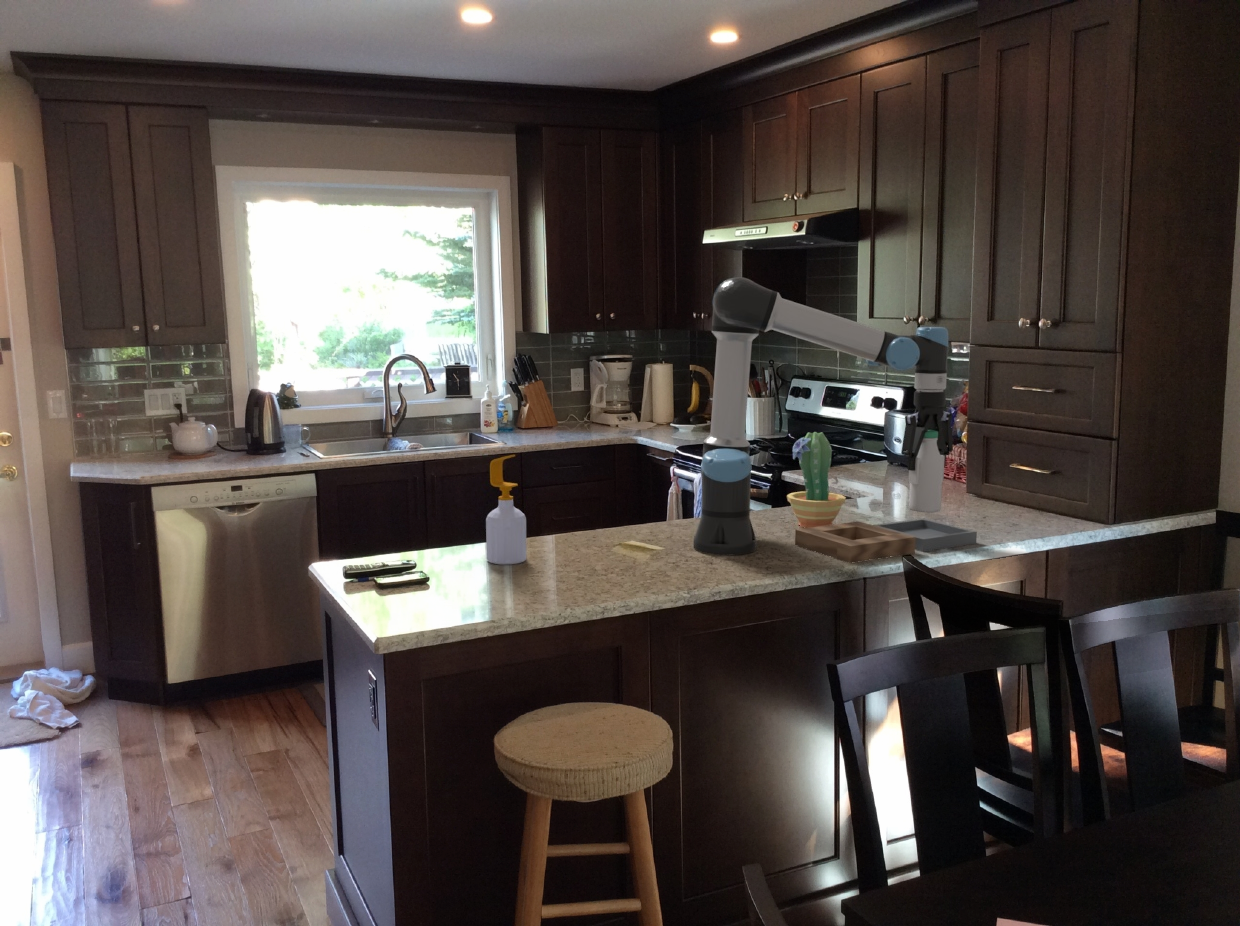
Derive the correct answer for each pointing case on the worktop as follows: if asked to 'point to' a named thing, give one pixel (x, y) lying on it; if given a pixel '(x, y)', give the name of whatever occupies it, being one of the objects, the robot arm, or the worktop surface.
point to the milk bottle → (928, 477)
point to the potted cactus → (815, 483)
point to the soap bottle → (505, 523)
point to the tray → (932, 534)
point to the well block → (855, 541)
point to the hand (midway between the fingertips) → (925, 481)
